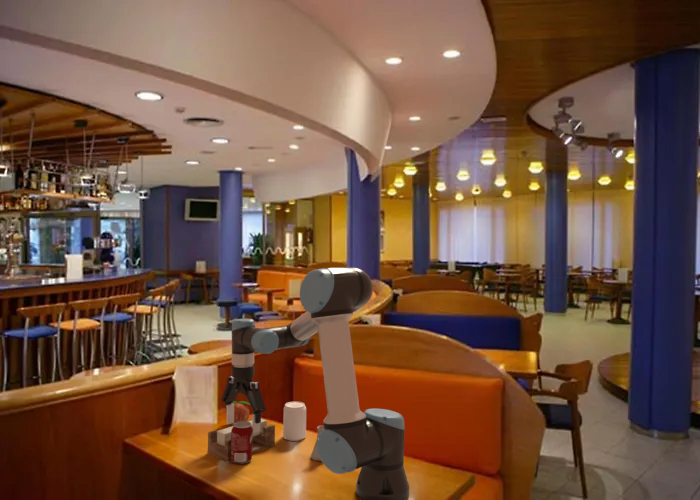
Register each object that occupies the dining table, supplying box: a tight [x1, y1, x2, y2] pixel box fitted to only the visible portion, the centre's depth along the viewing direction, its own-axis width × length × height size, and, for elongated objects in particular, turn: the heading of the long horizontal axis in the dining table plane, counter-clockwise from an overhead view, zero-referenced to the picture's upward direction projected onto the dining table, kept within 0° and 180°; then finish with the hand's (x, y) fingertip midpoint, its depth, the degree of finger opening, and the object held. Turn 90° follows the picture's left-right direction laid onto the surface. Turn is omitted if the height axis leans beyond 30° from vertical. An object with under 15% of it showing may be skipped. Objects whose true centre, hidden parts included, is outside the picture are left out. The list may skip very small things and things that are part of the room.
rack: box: [206, 418, 276, 464], centre depth 187 cm, size 20×11×7 cm, turn 140°
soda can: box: [230, 420, 253, 465], centre depth 177 cm, size 7×7×12 cm
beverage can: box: [282, 401, 307, 442], centre depth 199 cm, size 8×8×12 cm
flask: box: [310, 425, 324, 462], centre depth 182 cm, size 7×7×10 cm
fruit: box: [224, 398, 251, 426], centre depth 211 cm, size 9×10×10 cm
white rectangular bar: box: [217, 418, 268, 446], centre depth 187 cm, size 18×4×4 cm, turn 140°
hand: (242, 427), depth 187 cm, fingers open, 13 cm apart
